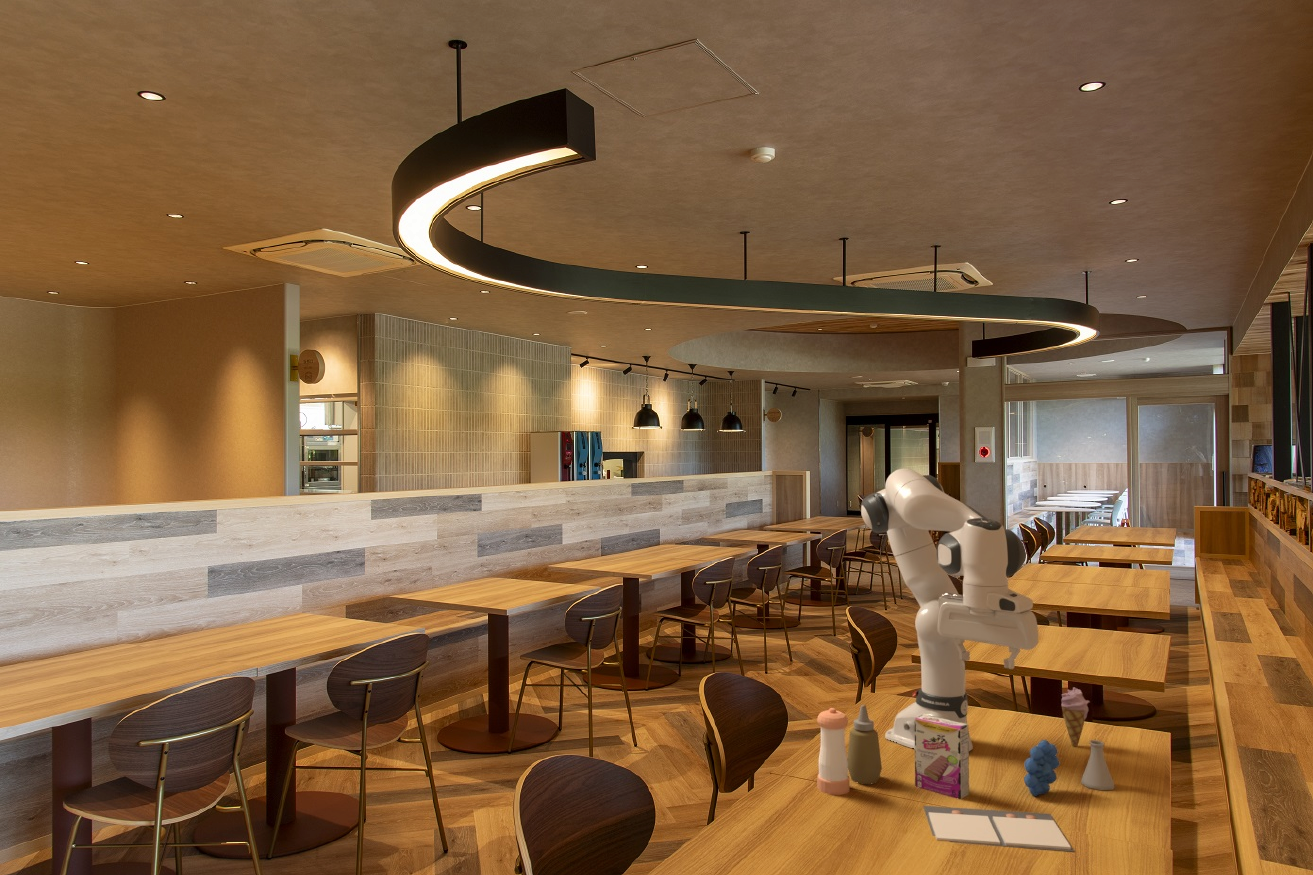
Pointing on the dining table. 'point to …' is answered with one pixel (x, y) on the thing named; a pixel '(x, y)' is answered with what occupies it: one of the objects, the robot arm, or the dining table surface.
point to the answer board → (996, 828)
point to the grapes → (1041, 768)
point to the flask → (1097, 769)
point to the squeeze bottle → (864, 750)
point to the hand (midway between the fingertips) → (986, 664)
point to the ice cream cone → (1074, 713)
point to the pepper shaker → (833, 753)
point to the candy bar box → (942, 756)
